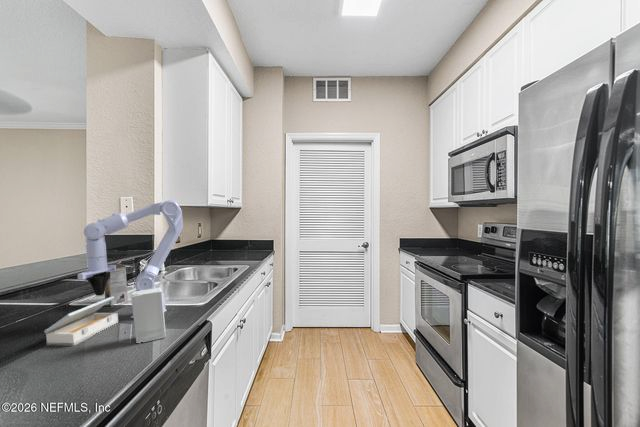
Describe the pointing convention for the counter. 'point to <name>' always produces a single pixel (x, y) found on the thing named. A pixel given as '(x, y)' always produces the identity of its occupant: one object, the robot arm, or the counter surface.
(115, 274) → the coffee box
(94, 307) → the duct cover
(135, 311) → the skincare box
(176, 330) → the counter surface
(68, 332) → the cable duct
